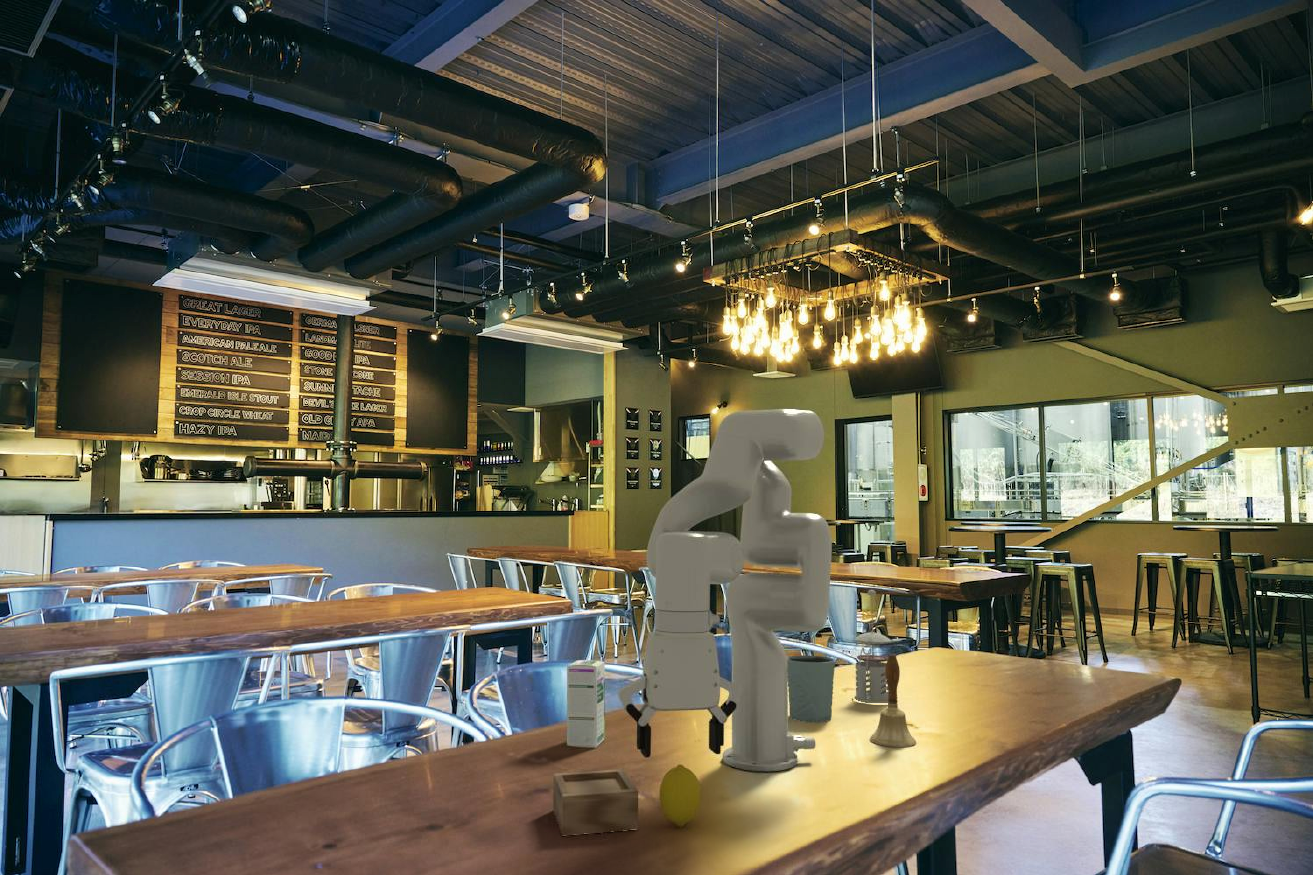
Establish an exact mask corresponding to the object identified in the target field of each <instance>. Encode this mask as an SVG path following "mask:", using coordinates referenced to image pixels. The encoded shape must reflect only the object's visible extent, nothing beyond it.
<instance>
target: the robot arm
mask: <svg viewBox="0 0 1313 875" xmlns="http://www.w3.org/2000/svg"><path fill="white" fill-rule="evenodd" d="M824 431H825V430H824V426H823V423H822V421H821V419H820V417H819V416H818V414H816V413H815V412H814V411H811V410H802V409H801V410H800V409H791V408H789V409H788V408H778V409H777V408H776V409H758V410H757V409H755V410H754V409H753V410H741V411H735V412H732V413H730V414H728V415H726V416H725V417H724V418H723V419H722V420H721V421H720V424H719V426H718V428H717V431H716V434H715V437H714V440H713V443H712V446H711V448H710V452H709V454H708V457H707V459H706V462H705V465H704V468H703V472H702V474H701V475H700V476H699V477H697V478H696V479H693V481H691V482H690V483H688V484H687V485H686V486H684V487H683V488H681V489H680V491H678V492H677V493H675V495H673V496H672V497H671V498H670V499H669V500H668V501H667V502H666V503H665V504H664V505H663V507H662V508H661V509H660V512H659V514H658V516H657V518H656V520H655V524H654V525H653V528H652V531H651V534H650V536H649V540H648V543H647V544H648V545H647V549H646V565H647V568H648V571H649V573H650V574H651V575H652V577H654V578H655V586H654V587H655V591H654V592H655V593H654V595H655V597H654V631H651V632H648V634H647V638H646V644H645V649H644V657H643V666H642V675H641V677H639V678H637V679H635V680H634V681H633V682H630V683H629V684H627V685H625V686H623V687H621V688H620V689H618V690H617V696H618V698H619V700H620V702H621V703H622V705H623V708H624V711H625V712H627V713H628V715H629V716H630V717H631V718H632V719H634V721H635V722H636V747H637V750H640V754H641V755H642V756H643V757H644V758H650V757H652V756H651V755H652V754H651V752H652V727H651V725H649V723H650V721H651V720H652V718H653V717H654V716H655V714H656V713H657V712H674V711H675V712H676V711H680V712H681V711H701V710H702V711H703V710H704V711H705V710H707V711H708V712H709V713H710V715H711V718H710V719H709V721H708V749H709V750H710V751H711V752H712V753H714V754H715V755H721V754H722V761H723V762H724V763H725V764H726V765H727V766H729V767H733V768H736V769H739V770H744V771H751V772H765V773H766V772H777V771H785V770H789V769H791V768H793V767H795V766H796V765H797V764H798V755H797V752H798V751H799V750H803V749H804V750H814V749H815V748H816V739H815V738H814V736H810V737H809V736H806V737H802V735H793V734H792V733H790V732H789V720H788V718H789V716H788V715H789V712H788V711H789V710H788V708H789V707H788V706H789V691H788V689H789V687H788V678H787V676H788V674H787V657H788V656H787V653H786V649H785V648H784V646H783V644H782V642H781V641H780V639H779V638H778V637H777V635H776V633H775V632H778V631H780V632H781V631H782V632H797V633H816V632H819V631H821V630H822V629H823V628H824V627H825V625H826V624H827V621H828V616H829V610H830V609H829V608H830V607H829V606H830V590H831V589H830V588H831V573H832V572H831V570H832V554H833V553H832V552H833V550H832V548H833V546H832V544H833V543H832V534H831V530H830V526H829V524H828V522H827V520H826V518H824V517H823V516H821V515H819V514H817V513H816V514H815V513H811V512H792V510H791V509H792V493H793V492H792V486H791V484H790V482H789V480H788V479H787V477H786V476H785V474H784V473H783V472H782V471H781V470H780V469H779V468H778V467H777V465H775V464H774V461H804V460H812V459H815V458H816V457H817V456H818V455H819V454H820V452H821V450H822V448H823V444H824V441H825V433H824ZM740 506H742V514H741V515H742V516H741V517H742V518H741V525H740V527H741V528H740V539H738V538H737V537H736V536H734V535H733V534H731V533H728V532H723V531H699V530H697V531H694V530H693V531H691V530H690V529H691V528H692V527H695V526H696V525H697V524H699V523H701V522H703V521H705V520H708V519H710V518H713V517H716V516H719V515H722V514H724V513H726V512H729V511H732V510H734V509H736V508H739V507H740ZM745 562H746V563H748V564H749V565H753V566H756V567H757V566H758V567H767V568H794V569H800V570H801V571H800V572H801V574H790V573H789V574H787V573H785V574H784V573H771V572H770V573H769V572H749V573H742V571H743V569H744V566H745ZM725 584H728V585H727V588H726V591H725V603H726V604H725V605H726V612H727V616H728V623H729V629H730V630H729V631H730V643H731V646H730V647H731V681H729V680H728V679H725V678H723V677H722V676H720V666H719V659H718V650H717V642H716V638H715V634H714V633H712V632H710V631H711V630H712V626H714V625H719V624H720V620H721V619H720V615H719V614H714V613H712V610H710V609H711V607H710V606H711V604H710V602H711V594H710V593H711V585H725ZM721 688H722V689H724V690H726V691H727V692H728V696H727V699H726V700H725V701H724V702H723V703H722V705H719V703H720V699H721V698H720V697H721ZM640 691H641V701H642V702H643V704H642V705H641V707H640V708H639V709H638V708H637V707H636V706H635V705H634V702H633V700H632V697H633V696H634V695H636V694H637V693H639V692H640ZM730 716H731V747H728V748H726V749H725V750H724V751H723V752H722V749H721V748H722V747H723V746H725V745H724V743H725V742H724V741H725V732H724V731H725V723H726V722H727V721H728V718H729V717H730ZM721 752H722V753H721Z"/></svg>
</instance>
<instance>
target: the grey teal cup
mask: <svg viewBox="0 0 1313 875" xmlns="http://www.w3.org/2000/svg"><path fill="white" fill-rule="evenodd" d="M835 665H836V659H835V658H831V657H827V656H822V655H821V656H820V655H804V654H803V655H790V656H787V681H788V706H789V717H790V718H791V717H792V718H793V719H792V718H791V719H792V720H794V719H796V720H795V721H798V720H800V721H799V722H803V721H805V722H806V723H824V722H823V721H825V722H828V721H827V720H829V721H831V719H832V714H833V712H832V711H833V709H832V706H833V700H834V698H833V694H834V692H833V690H834V678H835V677H834V676H835V668H836V666H835ZM805 722H804V723H805Z"/></svg>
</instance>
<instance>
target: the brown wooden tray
mask: <svg viewBox="0 0 1313 875" xmlns="http://www.w3.org/2000/svg"><path fill="white" fill-rule="evenodd" d="M552 799H553V800H552V801H553V802H552V804H553V806H552V811H553V810H554V811H553V814H554V813H555V814H554V816H555V815H556V817H555V819H556V818H557V820H556V822H558V823H557V825H558V824H559V826H558V828H559V827H560V828H559V830H560V829H561V831H560V833H561V832H562V834H561V836H562V835H573V834H584V833H587V834H588V833H601V834H603V833H602V832H611V831H623V830H631V829H638V830H639V790H638V788H637V786H635V784H634V782H633V781H632V779H631V778H630V777H629V775H628V774H627V772H626V771H625V770H624V768H618V769H607V770H606V769H604V770H602V769H601V770H592V771H591V770H590V771H588V770H587V771H574V772H573V771H571V772H563V773H562V772H559V773H553V795H552Z"/></svg>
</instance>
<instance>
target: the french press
mask: <svg viewBox="0 0 1313 875" xmlns="http://www.w3.org/2000/svg"><path fill="white" fill-rule="evenodd" d="M867 595H868V596H871V599H873V596H876V595H877V591H875V590H874V589H869V590H868V591H867ZM873 607H874V605H873V602H871V631H869V632H865V633H861V634H859V635H858V636H856V637H855V638H854V642H856V643H859V644H868V645H872V648H871V647H870V648H869V650H868V651H867V652H865V648H864V647H862V648H861V650H860V655H859V654H858V655H857V656H856V658H857V660H858V661H857V662H855V697H854V696H853V697H854V698H855V699H856V700H858V701H861V702H865V703H888V684H887V681H886V674H885V668H886V663H887V660H888V656H885V655H881V654H879V655H877V654H874V645H880V644H881V645H883V644H890V642H891V641H892V640H891V639H890V638H889V637H887V636H885V635H883V634H881V633H879V632H878V633H877V632H875V631H874V619H873V617H874V616H873V613H874V612H873V610H874V609H873ZM862 653H863V654H862ZM867 683H869V684H867ZM867 689H869V690H867Z"/></svg>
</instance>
